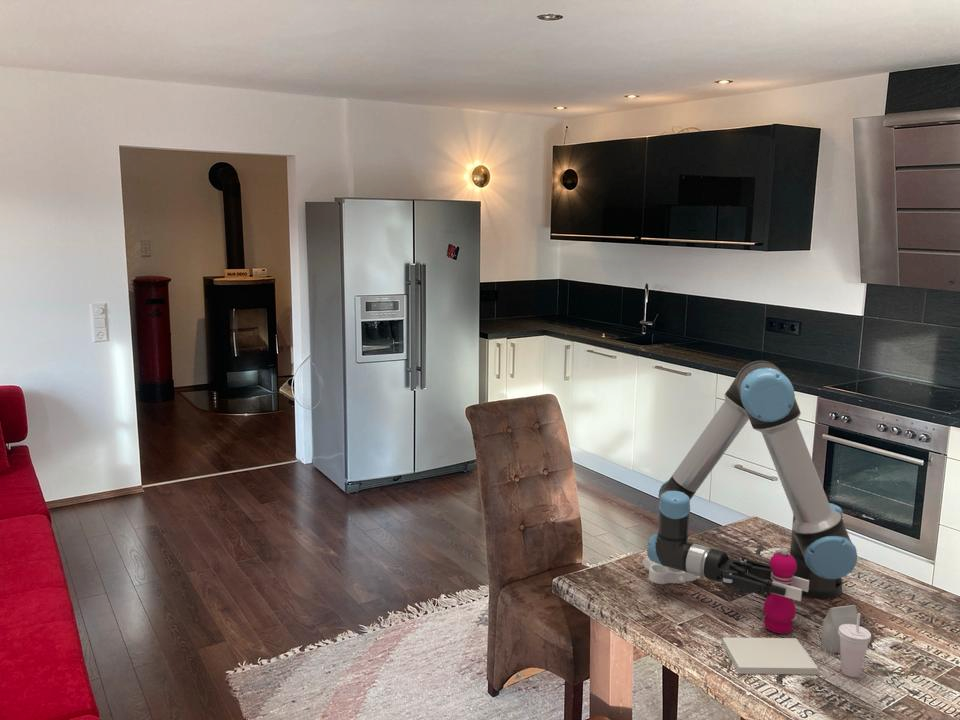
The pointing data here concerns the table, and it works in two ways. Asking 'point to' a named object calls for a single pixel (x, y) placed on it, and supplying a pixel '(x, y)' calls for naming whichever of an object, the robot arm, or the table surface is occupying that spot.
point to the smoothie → (853, 647)
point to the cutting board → (769, 656)
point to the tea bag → (836, 626)
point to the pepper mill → (775, 605)
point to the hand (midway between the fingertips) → (804, 590)
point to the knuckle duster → (666, 573)
